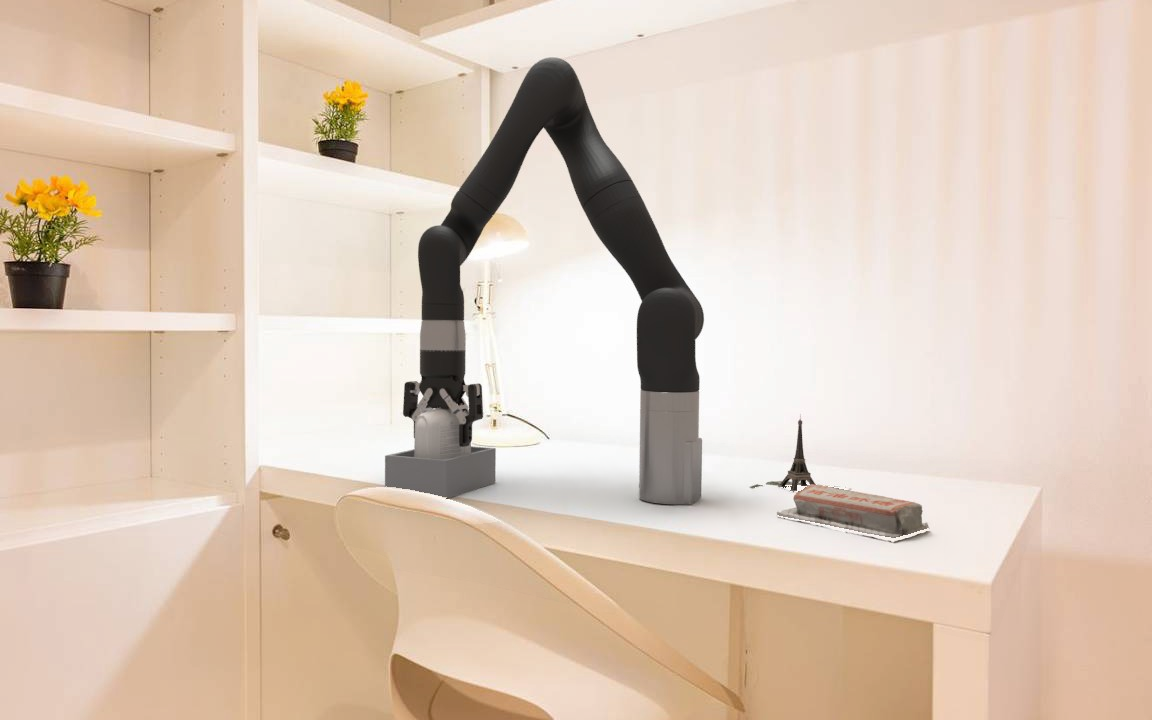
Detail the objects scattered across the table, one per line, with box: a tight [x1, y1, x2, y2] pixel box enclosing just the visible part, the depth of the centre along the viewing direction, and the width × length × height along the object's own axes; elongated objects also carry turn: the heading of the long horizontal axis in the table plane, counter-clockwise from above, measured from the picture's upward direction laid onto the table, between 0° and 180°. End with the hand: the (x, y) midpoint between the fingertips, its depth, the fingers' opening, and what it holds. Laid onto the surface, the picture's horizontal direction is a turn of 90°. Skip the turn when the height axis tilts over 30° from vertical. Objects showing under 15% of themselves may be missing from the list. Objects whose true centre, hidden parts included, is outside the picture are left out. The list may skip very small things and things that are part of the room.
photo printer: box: [414, 408, 472, 460], centre depth 135 cm, size 10×4×12 cm, turn 138°
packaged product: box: [776, 484, 930, 538], centre depth 112 cm, size 18×5×10 cm
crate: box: [384, 445, 497, 499], centre depth 135 cm, size 12×16×6 cm
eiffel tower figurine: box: [750, 413, 817, 492], centre depth 138 cm, size 15×10×13 cm
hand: (442, 444), depth 135 cm, fingers open, 8 cm apart
